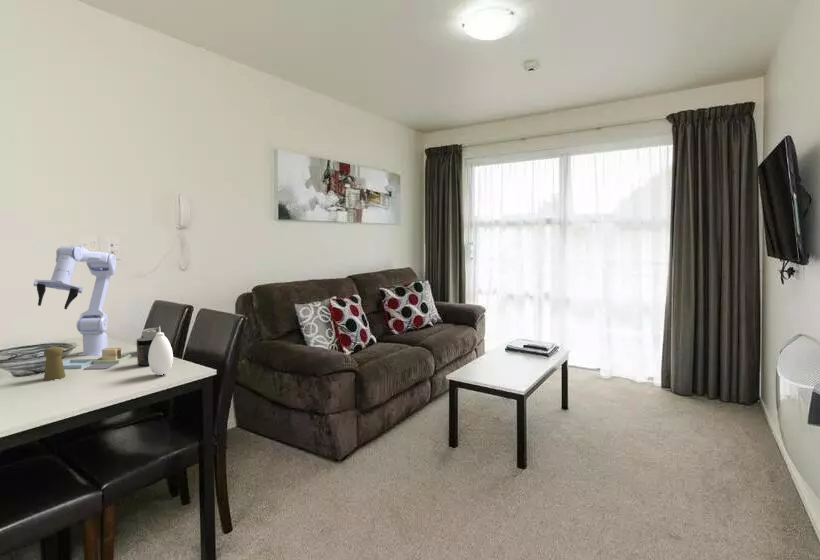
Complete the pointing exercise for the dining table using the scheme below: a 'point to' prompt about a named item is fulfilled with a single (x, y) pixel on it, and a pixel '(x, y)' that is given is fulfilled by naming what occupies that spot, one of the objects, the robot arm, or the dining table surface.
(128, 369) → the dining table surface
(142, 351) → the supplement container
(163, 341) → the white air blower bulb
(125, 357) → the sage tray
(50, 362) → the cork
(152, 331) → the food container
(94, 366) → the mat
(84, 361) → the blue-grey tray
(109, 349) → the letter block
